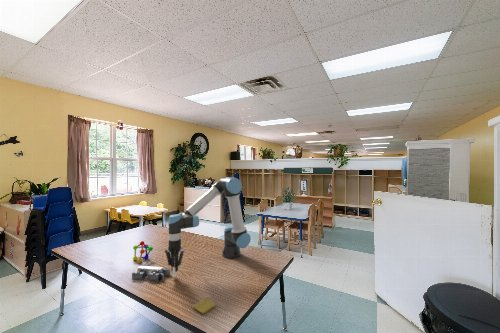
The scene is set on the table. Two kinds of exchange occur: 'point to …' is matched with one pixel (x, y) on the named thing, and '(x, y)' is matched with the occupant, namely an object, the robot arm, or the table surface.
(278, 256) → the table surface
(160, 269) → the link bar
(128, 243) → the table surface
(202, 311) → the yellow tray
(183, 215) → the robot arm
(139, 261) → the educational toy
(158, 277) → the dark grey blocks
